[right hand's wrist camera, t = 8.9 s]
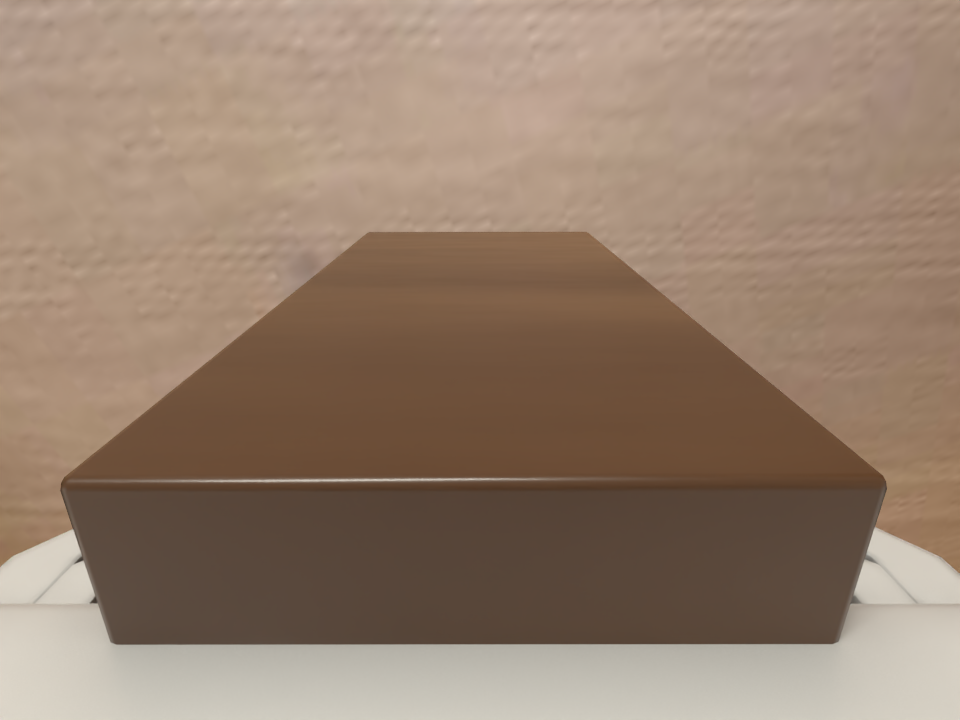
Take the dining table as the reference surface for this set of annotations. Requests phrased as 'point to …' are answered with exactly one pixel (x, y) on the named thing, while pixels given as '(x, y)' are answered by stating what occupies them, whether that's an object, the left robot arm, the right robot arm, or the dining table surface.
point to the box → (474, 469)
